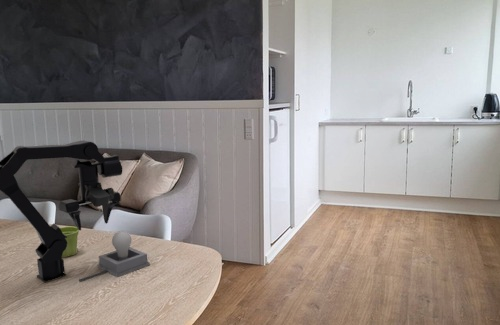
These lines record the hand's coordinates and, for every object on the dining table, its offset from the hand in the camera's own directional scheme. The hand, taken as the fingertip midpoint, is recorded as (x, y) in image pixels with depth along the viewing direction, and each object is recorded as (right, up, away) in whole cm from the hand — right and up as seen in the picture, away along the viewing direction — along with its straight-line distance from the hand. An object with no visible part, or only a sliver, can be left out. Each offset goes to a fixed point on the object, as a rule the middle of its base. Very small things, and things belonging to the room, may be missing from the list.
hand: (93, 226), depth 141 cm
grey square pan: (+7, -14, -3) cm, 16 cm away
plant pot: (-14, -12, +12) cm, 22 cm away
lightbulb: (+10, -12, 0) cm, 16 cm away
